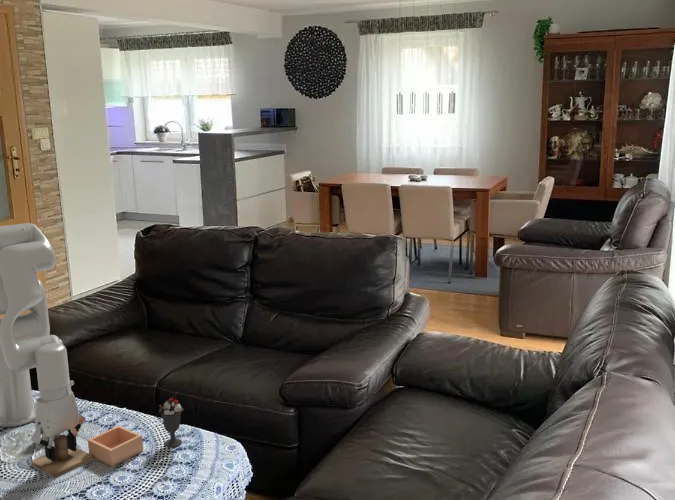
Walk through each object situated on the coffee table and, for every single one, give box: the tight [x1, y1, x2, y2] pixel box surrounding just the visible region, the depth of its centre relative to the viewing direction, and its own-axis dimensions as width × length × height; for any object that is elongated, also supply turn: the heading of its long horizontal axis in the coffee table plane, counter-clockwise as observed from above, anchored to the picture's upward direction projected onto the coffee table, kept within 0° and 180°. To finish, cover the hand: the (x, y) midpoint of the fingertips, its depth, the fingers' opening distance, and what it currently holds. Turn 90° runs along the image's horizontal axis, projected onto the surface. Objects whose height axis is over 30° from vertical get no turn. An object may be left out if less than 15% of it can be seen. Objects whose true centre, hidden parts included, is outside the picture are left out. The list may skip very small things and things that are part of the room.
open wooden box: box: [87, 425, 144, 468], centre depth 183 cm, size 10×10×5 cm
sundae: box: [157, 391, 184, 449], centre depth 187 cm, size 7×7×15 cm
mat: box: [28, 458, 96, 480], centre depth 179 cm, size 12×12×1 cm
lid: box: [31, 434, 93, 478], centre depth 178 cm, size 11×11×7 cm
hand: (61, 453), depth 179 cm, fingers open, 5 cm apart
